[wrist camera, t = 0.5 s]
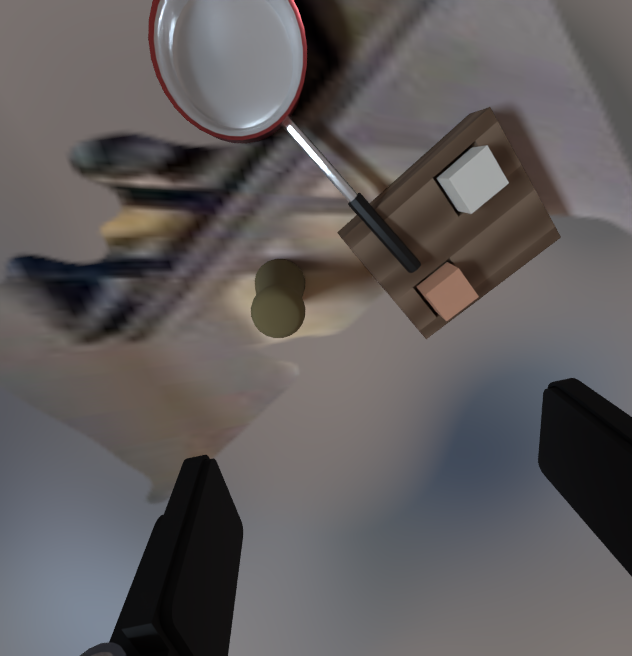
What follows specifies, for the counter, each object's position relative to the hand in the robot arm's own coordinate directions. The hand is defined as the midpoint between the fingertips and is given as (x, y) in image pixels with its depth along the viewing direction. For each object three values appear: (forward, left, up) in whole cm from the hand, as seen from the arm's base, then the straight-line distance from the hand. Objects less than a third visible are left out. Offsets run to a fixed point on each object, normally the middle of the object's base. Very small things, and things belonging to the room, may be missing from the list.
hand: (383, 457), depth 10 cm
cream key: (+5, +16, -30) cm, 34 cm away
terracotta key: (+13, +8, -30) cm, 33 cm away
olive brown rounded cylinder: (+1, -6, -34) cm, 34 cm away
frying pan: (-8, +7, -34) cm, 35 cm away
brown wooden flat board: (+9, +12, -33) cm, 37 cm away
